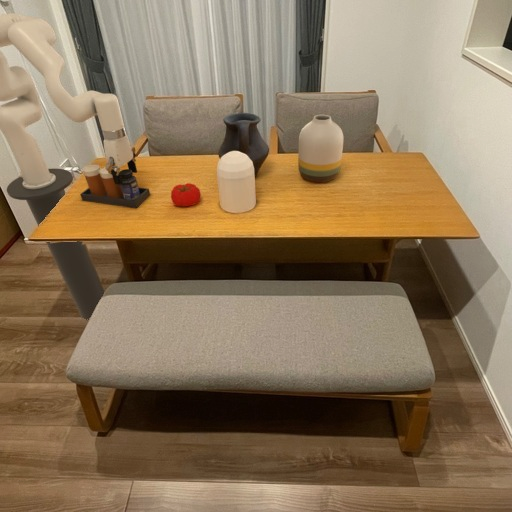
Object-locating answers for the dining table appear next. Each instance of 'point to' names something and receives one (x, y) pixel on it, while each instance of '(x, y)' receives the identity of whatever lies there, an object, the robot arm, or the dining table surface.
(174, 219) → the dining table surface
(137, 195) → the pill bottle
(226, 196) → the container
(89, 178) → the amber bottle
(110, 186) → the amber bottle
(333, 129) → the vase
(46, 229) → the dining table surface
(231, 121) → the pitcher
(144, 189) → the tray
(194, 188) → the tomato
